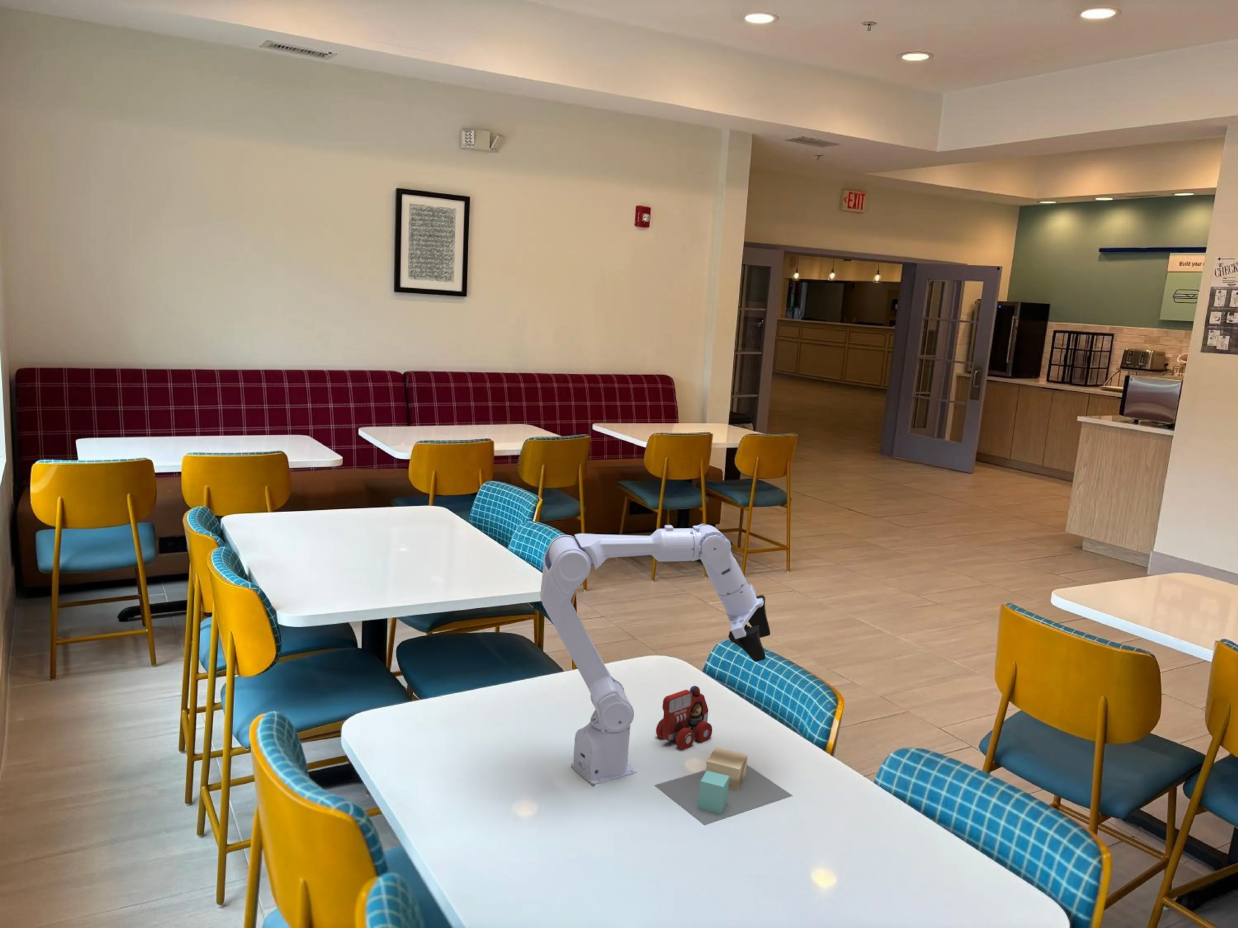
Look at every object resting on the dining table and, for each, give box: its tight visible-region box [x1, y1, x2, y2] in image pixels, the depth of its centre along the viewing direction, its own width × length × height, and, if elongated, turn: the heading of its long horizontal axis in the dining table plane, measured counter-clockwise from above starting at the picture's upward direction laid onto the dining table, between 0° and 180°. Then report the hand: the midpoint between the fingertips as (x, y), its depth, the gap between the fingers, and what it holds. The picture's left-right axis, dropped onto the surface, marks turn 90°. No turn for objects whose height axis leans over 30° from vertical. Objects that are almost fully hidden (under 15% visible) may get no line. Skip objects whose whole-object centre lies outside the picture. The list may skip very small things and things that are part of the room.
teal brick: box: [698, 771, 729, 814], centre depth 158 cm, size 4×4×5 cm
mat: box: [653, 764, 793, 826], centre depth 164 cm, size 20×14×1 cm
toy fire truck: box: [655, 685, 713, 751], centre depth 182 cm, size 7×12×10 cm, turn 133°
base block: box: [705, 746, 749, 790], centre depth 168 cm, size 6×6×4 cm
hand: (762, 647), depth 171 cm, fingers open, 7 cm apart
